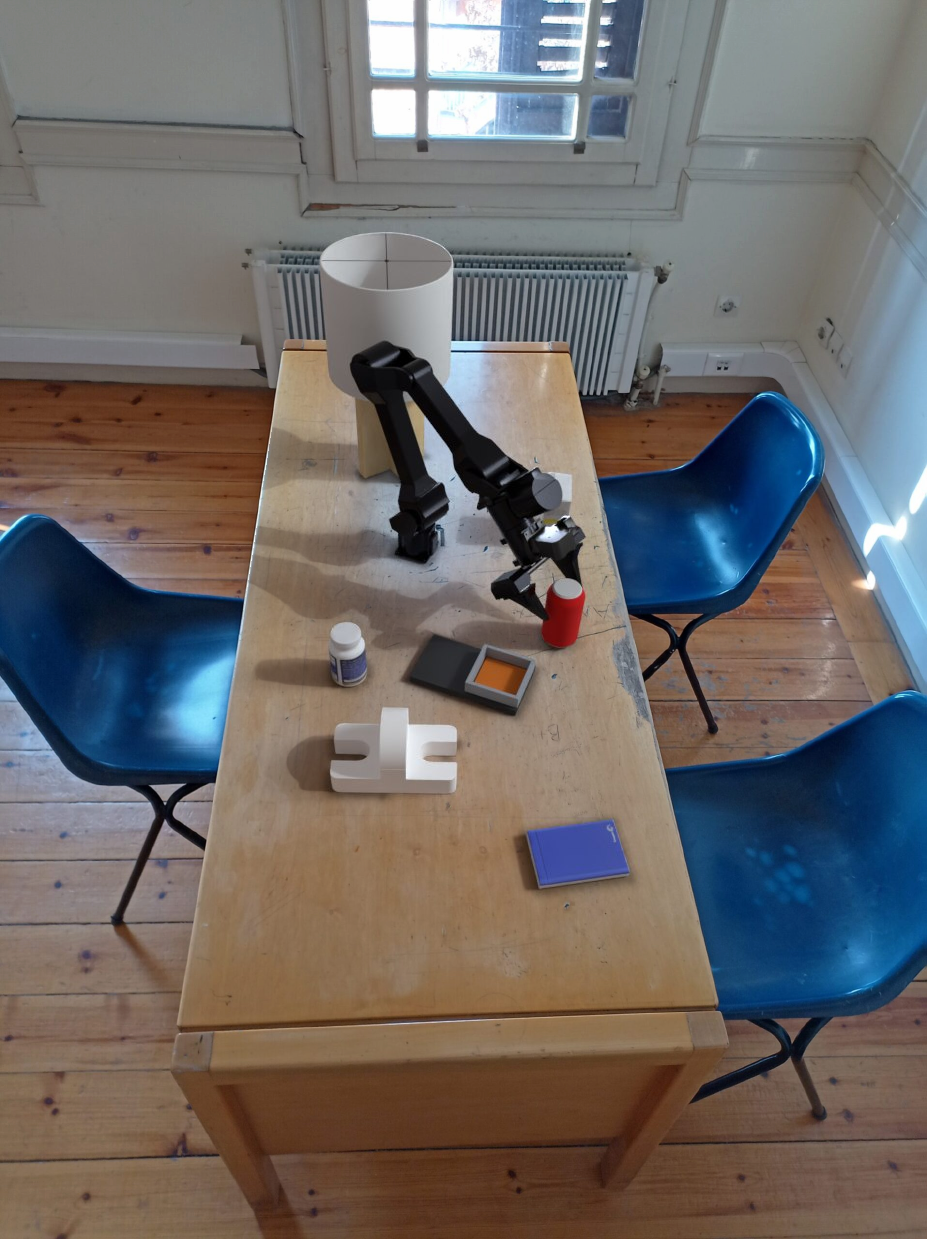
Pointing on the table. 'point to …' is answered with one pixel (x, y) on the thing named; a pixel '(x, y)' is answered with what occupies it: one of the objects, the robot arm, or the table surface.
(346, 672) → the pill bottle
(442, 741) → the white slotted fin bracket
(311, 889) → the table surface
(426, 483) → the robot arm
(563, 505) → the ink box
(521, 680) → the black tray with frame
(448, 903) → the table surface
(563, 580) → the beverage can
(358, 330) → the lamp
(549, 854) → the hard drive
